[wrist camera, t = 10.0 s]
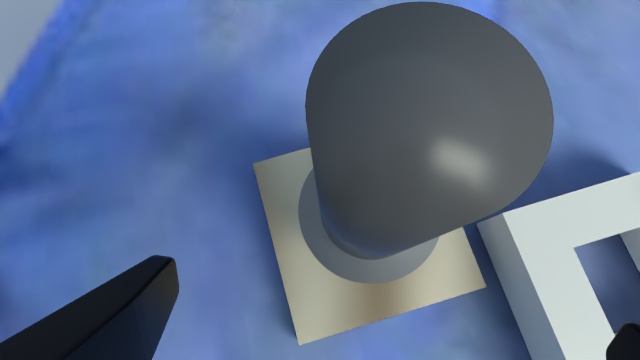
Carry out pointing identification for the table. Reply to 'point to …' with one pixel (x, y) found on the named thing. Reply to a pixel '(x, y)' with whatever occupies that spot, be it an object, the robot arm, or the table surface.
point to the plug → (416, 135)
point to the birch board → (340, 294)
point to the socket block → (561, 265)
